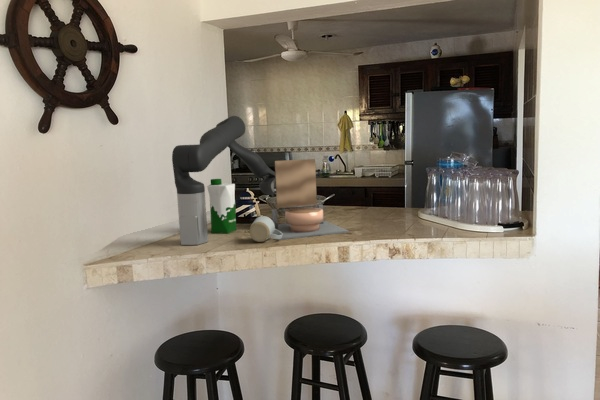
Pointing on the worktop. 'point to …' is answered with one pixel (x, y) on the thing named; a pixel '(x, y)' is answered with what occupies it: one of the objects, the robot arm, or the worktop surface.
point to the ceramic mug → (264, 229)
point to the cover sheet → (295, 183)
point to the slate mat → (324, 230)
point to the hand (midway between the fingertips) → (295, 190)
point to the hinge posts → (275, 220)
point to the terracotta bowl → (304, 219)
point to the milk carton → (222, 206)
